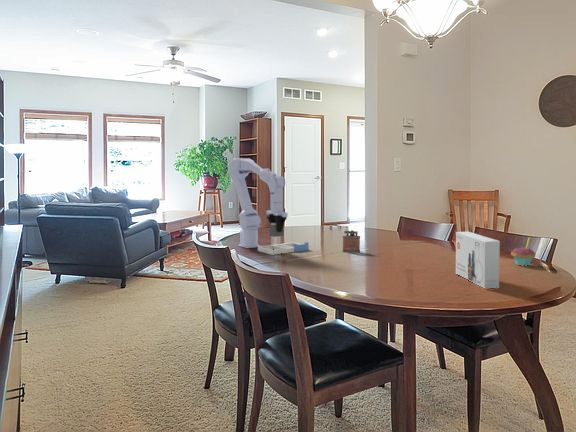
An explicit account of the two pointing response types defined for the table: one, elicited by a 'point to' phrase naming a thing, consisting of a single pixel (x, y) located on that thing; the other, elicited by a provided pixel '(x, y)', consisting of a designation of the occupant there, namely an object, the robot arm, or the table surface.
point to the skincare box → (478, 259)
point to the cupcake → (523, 255)
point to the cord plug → (275, 230)
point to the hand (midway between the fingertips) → (276, 231)
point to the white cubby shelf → (284, 248)
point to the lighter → (351, 242)
